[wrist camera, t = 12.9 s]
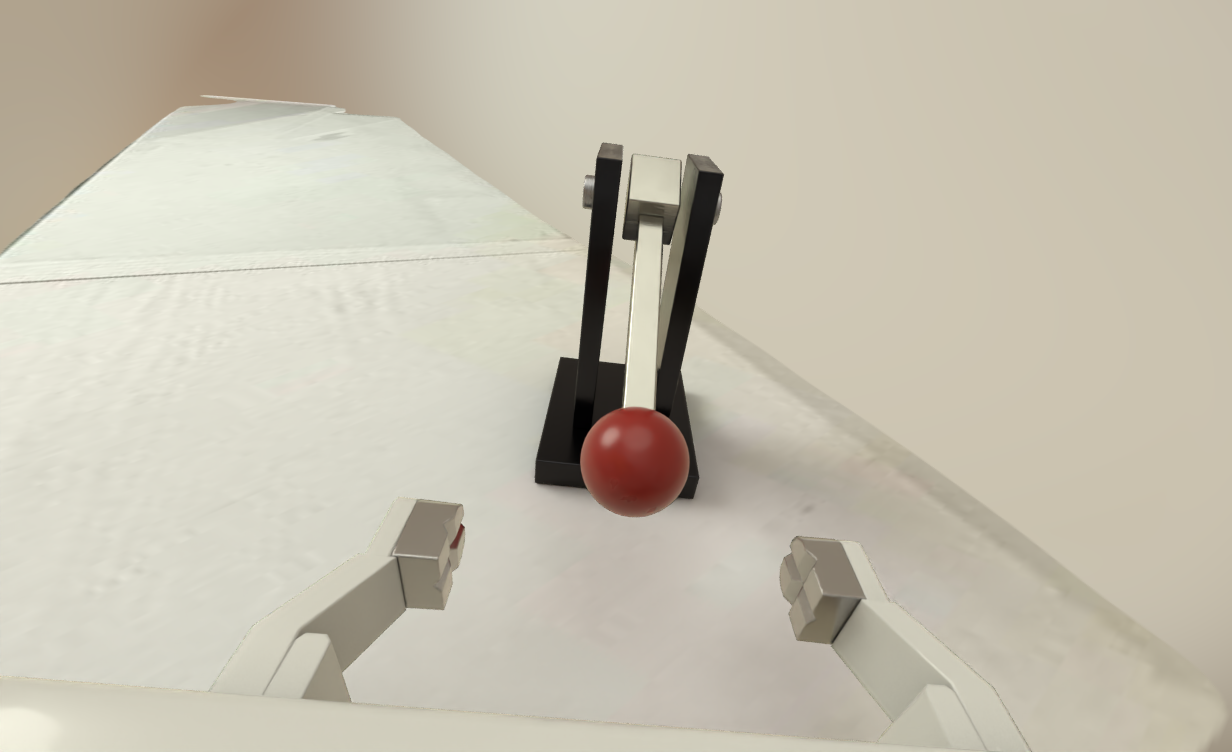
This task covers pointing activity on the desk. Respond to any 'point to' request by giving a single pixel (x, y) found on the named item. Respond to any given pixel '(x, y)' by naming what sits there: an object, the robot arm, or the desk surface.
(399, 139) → the desk surface
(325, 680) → the robot arm
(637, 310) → the lever
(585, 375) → the black lever base
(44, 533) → the desk surface
